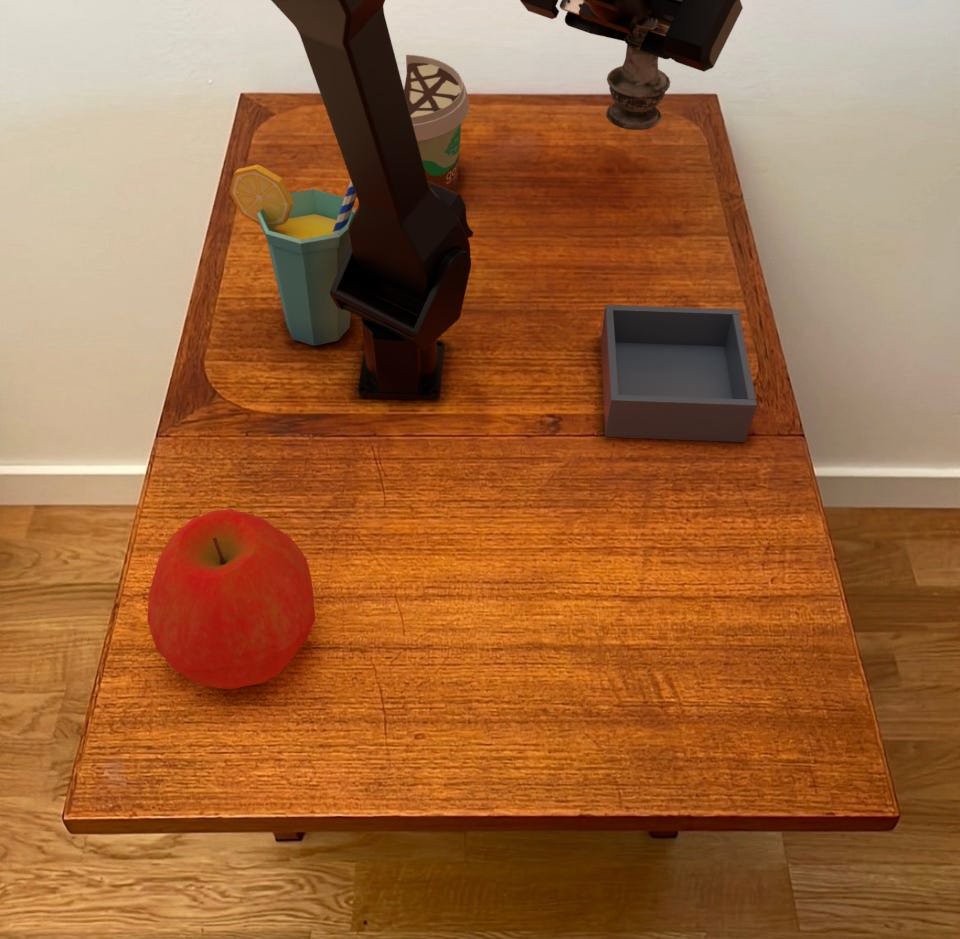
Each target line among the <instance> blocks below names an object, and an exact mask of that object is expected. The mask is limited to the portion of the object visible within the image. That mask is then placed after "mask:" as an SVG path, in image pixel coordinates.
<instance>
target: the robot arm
mask: <svg viewBox="0 0 960 939" xmlns="http://www.w3.org/2000/svg"><path fill="white" fill-rule="evenodd" d="M270 1H271V2H272V3H273V5H275V6H276V8H278V10H279V11H280V12H281V13H282V14H283V15H284V16H285V17H286V18H287V20H289V22H290V23H292V25H293V26H294V27H295V29H296V30H297V32H298V34H299V37H300V40H301V43H302V45H303V48H304V52H305V54H306V57H307V59H308V60H307V61H308V63H309V65H310V69H311V71H312V74H313V75H314V79H315V82H316V85H317V88H318V91H319V94H320V97H321V99H322V102H323V104H324V108H325V110H326V113H327V116H328V119H329V122H330V125H331V128H332V130H333V133H334V136H335V139H336V141H337V145H338V147H339V150H340V153H341V155H342V159H343V161H344V164H345V168H346V169H347V172H348V176H349V180H350V181H352V184H353V187H354V190H355V193H356V196H357V197H356V199H357V201H358V202H357V203H358V204H357V207H356V208H355V209H356V210H354V211H355V213H354V215H353V217H352V219H351V221H350V223H349V225H348V230H349V236H350V241H351V243H350V246H349V248H348V250H347V253H346V255H345V257H344V260H343V262H342V264H341V267H340V269H339V271H338V274H337V276H336V278H335V281H334V283H333V285H332V288H331V290H330V296H331V298H332V299H333V301H334V303H335V304H336V306H337V307H338V308H340V309H342V310H344V309H345V310H347V311H349V312H350V314H352V315H355V316H357V317H359V318H360V319H361V328H362V336H363V338H362V339H363V346H364V347H363V348H364V352H363V358H362V364H361V370H360V375H359V381H358V386H357V387H358V388H357V394H358V396H359V398H366V399H387V400H388V399H389V400H390V399H391V400H393V399H394V400H415V401H416V400H417V401H418V400H419V401H437V400H439V399H440V398H441V394H442V382H443V372H444V361H445V350H446V344H445V341H442V340H440V339H439V338H440V337H441V336H442V335H443V334H444V333H446V331H447V330H449V329H450V328H451V327H452V326H453V325H454V324H455V323H456V322H458V320H459V319H460V318H461V316H462V310H463V305H464V301H465V296H466V292H467V287H468V282H469V279H470V278H469V277H470V275H471V274H470V273H471V268H472V258H471V245H470V241H469V239H470V238H472V237H473V235H474V231H473V230H472V229H471V228H470V226H469V223H468V218H467V206H466V202H465V201H464V199H463V197H462V195H461V194H459V193H457V192H456V191H450V190H448V189H446V188H443V187H441V186H438V185H436V184H434V183H431V182H429V181H427V177H426V173H425V169H424V166H423V162H422V158H421V154H420V150H419V146H418V142H417V139H416V135H415V131H414V127H413V123H412V119H411V116H410V112H409V108H408V104H407V100H406V96H405V92H404V85H403V80H402V76H401V73H400V70H399V66H398V63H397V58H396V54H395V51H394V47H393V43H392V39H391V34H390V32H389V27H388V24H387V19H386V15H385V10H384V4H385V2H386V0H270ZM519 1H520V2H521V4H522V5H523V6H524V8H525V10H527V11H528V12H529V13H533V14H536V15H539V16H541V17H544V18H547V19H550V20H553V19H556V18H557V17H558V16H559V13H560V10H562V11H565V12H566V15H565V16H564V23H565V24H566V26H568V27H571V28H573V29H577V30H579V31H582V32H585V33H588V34H590V35H595V36H599V37H604V38H609V39H613V40H618V41H621V42H625V40H624V39H625V36H626V35H627V34H632V32H633V30H634V28H635V26H638V27H641V28H644V29H647V30H648V32H647V34H646V36H645V39H644V41H643V43H642V45H641V47H640V49H639V50H640V51H642V52H645V53H648V54H651V55H654V56H657V57H658V58H660V59H663V60H672V61H673V62H675V63H678V64H680V65H683V66H685V67H689V68H692V69H695V70H698V71H701V72H703V73H704V72H707V71H709V70H711V69H713V68H714V67H715V65H716V63H717V61H718V59H719V57H720V55H721V53H722V51H723V48H724V47H725V45H726V44H727V41H728V39H729V37H730V35H731V33H732V31H733V29H734V27H735V25H736V23H737V21H738V19H739V17H740V15H741V13H742V10H743V8H744V7H743V4H742V1H741V0H561V1H560V3H559V8H560V10H559V9H558V7H557V4H558V2H559V0H519ZM646 15H648V16H647V17H646ZM438 339H439V340H438Z"/></svg>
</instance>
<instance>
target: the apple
mask: <svg viewBox="0 0 960 939" xmlns="http://www.w3.org/2000/svg"><path fill="white" fill-rule="evenodd" d="M314 596H315V595H314V588H313V581H312V576H311V571H310V568H309V563H308V560H307V558H306V556H305V554H304V552H303V551H302V550H301V548H300V547H299V545H298V544H297V543H296V542H295V541H294V540H293V539H292V538H291V536H289V535H287V534H286V533H285V532H283V531H281V529H279V528H277V527H276V526H274V525H273V524H271V523H270V522H268V521H267V520H266V519H264V518H262V517H259V516H256V515H255V514H252V513H247V512H243V511H238V510H234V509H230V508H229V509H215V510H213V511H210V512H207V513H204V514H202V515H200V516H197V517H195V518H192V519H190V520H189V521H188V522H187V523H186V524H184V525H183V526H182V527H180V528H179V529H178V530H176V531H175V532H174V533H173V534H172V535H171V536H170V538H169V540H168V541H167V543H166V545H165V546H164V548H163V549H162V551H161V553H160V555H159V557H158V559H157V563H156V567H155V570H154V573H153V578H152V581H151V584H150V588H149V592H148V603H147V623H148V627H149V632H150V634H151V637H152V639H153V643H154V645H155V648H156V650H157V652H158V653H159V654H160V655H161V656H162V657H163V658H164V659H165V661H166V662H167V663H168V664H169V665H170V666H171V667H172V668H173V670H175V671H176V672H178V673H179V674H181V675H182V676H184V677H185V678H187V679H188V680H190V681H191V682H193V683H196V684H199V685H202V686H205V687H208V688H209V687H210V688H218V689H223V690H234V689H240V688H244V687H248V686H254V685H259V684H263V683H266V682H267V681H269V680H270V679H272V678H274V677H275V676H277V675H278V674H280V673H281V672H282V671H283V670H284V669H285V668H286V667H287V666H288V664H289V663H290V661H291V660H292V659H293V658H294V656H295V655H296V653H297V652H298V651H299V650H300V648H301V646H302V645H303V644H304V642H306V640H307V639H308V636H309V635H310V632H311V630H312V627H313V625H314V623H315V621H316V614H315V597H314Z"/></svg>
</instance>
